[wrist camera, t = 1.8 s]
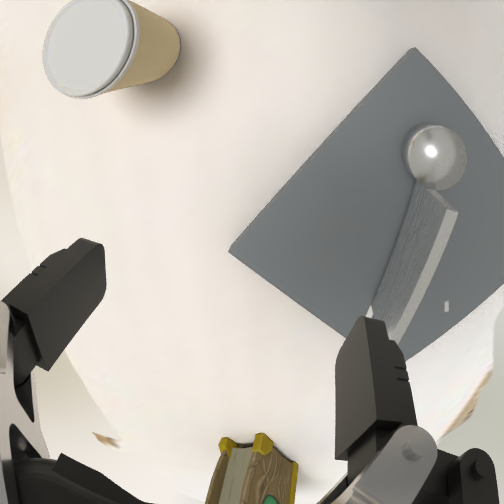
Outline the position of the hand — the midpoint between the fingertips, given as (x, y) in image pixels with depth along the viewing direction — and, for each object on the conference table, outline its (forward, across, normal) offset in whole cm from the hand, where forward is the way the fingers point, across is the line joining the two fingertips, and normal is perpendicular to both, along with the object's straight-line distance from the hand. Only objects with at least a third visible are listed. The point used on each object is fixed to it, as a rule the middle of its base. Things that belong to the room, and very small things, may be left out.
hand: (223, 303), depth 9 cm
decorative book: (+26, +13, -64) cm, 70 cm away
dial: (+24, +15, -4) cm, 28 cm away
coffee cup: (+26, -16, +7) cm, 32 cm away
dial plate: (+26, +17, -6) cm, 31 cm away
